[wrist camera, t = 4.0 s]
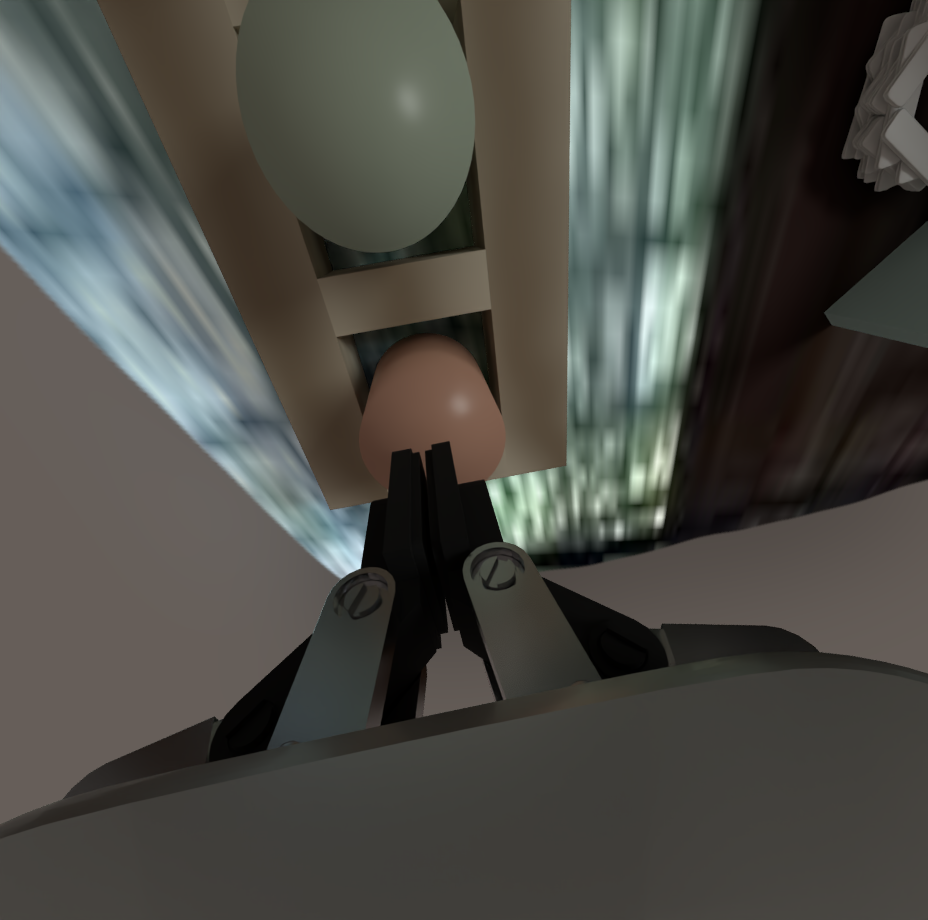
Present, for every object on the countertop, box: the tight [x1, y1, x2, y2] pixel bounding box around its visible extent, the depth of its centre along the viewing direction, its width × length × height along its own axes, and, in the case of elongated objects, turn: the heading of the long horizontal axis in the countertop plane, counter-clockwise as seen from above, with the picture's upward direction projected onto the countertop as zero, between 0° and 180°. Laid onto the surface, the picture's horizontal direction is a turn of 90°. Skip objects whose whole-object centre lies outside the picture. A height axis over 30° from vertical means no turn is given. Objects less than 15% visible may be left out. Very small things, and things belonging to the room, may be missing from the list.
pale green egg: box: [236, 0, 475, 253], centre depth 10 cm, size 5×5×5 cm
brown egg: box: [359, 333, 506, 489], centre depth 14 cm, size 5×5×5 cm
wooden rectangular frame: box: [97, 0, 571, 510], centre depth 12 cm, size 12×26×3 cm, turn 9°
